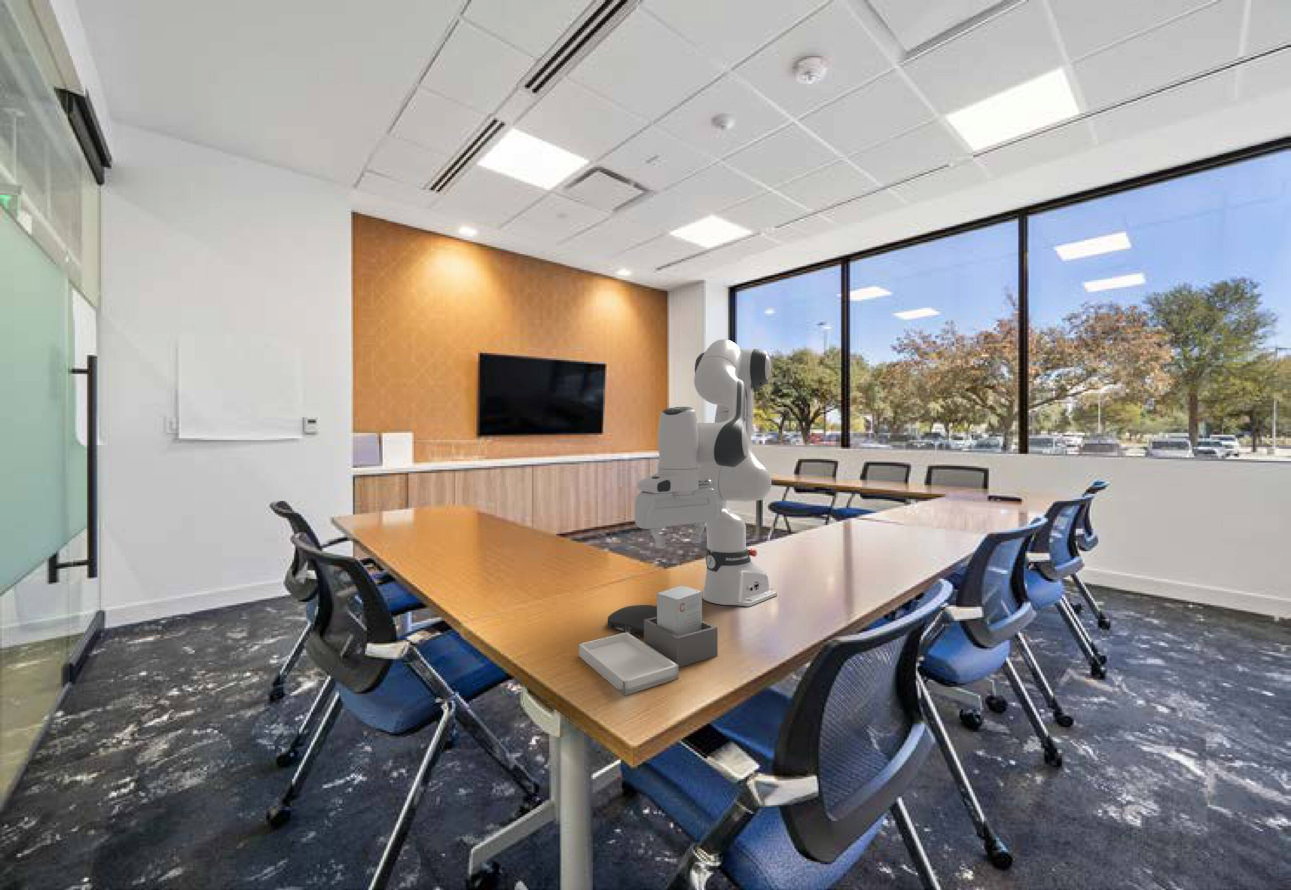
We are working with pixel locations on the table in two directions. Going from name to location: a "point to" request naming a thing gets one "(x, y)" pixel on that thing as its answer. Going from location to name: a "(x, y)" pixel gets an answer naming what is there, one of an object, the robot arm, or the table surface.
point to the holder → (682, 643)
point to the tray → (628, 663)
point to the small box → (680, 610)
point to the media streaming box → (631, 619)
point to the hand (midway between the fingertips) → (678, 545)
